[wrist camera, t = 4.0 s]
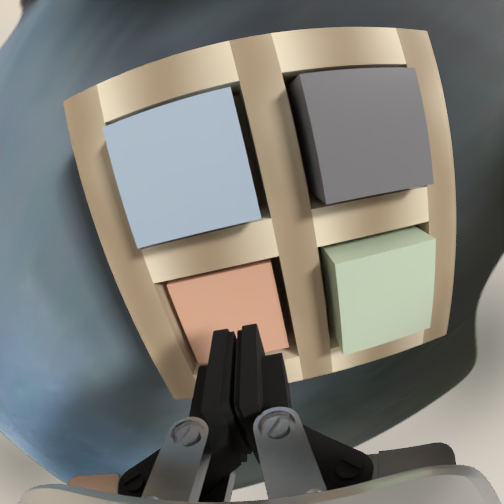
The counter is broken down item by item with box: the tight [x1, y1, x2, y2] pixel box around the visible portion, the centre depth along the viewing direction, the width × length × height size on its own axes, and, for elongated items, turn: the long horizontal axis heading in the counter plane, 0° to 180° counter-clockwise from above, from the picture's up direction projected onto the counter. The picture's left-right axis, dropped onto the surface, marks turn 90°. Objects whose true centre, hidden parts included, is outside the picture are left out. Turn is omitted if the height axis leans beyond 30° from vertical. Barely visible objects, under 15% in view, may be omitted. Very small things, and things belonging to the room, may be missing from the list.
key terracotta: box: [167, 258, 289, 364], centre depth 16 cm, size 5×5×3 cm
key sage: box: [319, 225, 436, 356], centre depth 14 cm, size 5×5×3 cm
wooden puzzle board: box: [63, 27, 456, 400], centre depth 15 cm, size 17×17×5 cm
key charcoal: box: [287, 67, 434, 205], centre depth 11 cm, size 5×5×3 cm
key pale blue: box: [103, 87, 261, 248], centre depth 12 cm, size 5×5×3 cm
